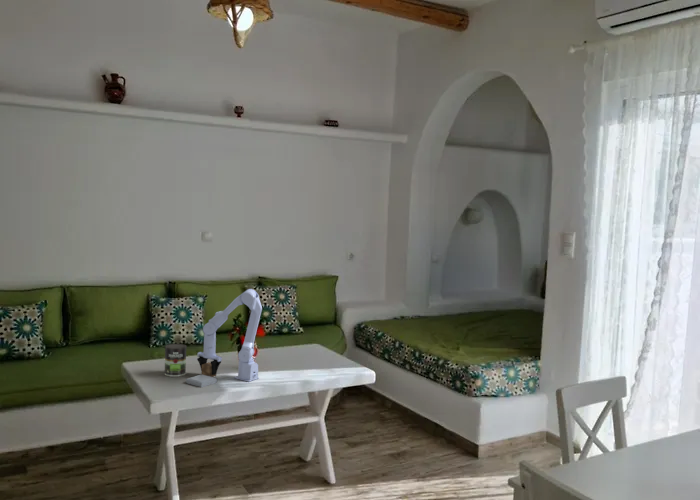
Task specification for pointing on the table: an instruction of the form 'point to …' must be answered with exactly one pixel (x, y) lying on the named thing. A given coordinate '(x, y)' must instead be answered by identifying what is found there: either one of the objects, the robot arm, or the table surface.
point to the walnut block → (207, 369)
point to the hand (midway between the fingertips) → (208, 373)
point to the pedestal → (201, 380)
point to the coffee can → (175, 360)
